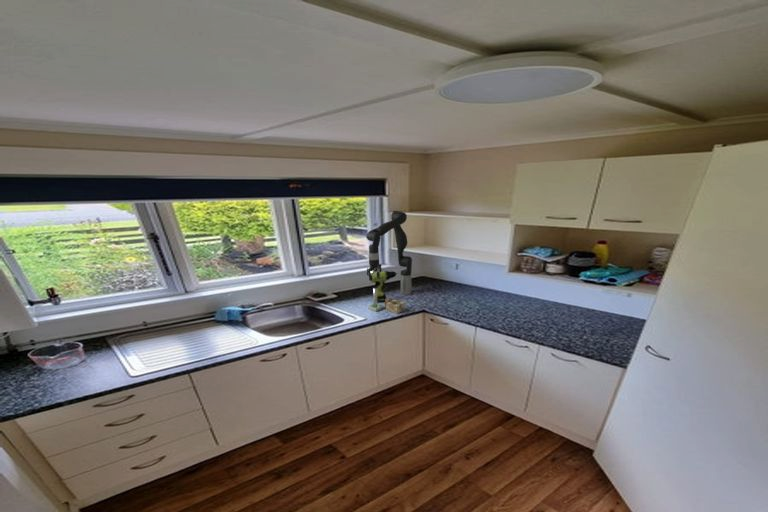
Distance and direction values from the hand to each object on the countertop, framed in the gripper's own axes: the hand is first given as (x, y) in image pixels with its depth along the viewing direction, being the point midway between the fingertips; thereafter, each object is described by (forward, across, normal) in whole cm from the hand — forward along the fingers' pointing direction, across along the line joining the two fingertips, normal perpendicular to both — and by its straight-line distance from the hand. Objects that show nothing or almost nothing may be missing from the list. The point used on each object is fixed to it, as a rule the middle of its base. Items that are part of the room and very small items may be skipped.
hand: (374, 279), depth 232 cm
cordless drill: (+24, +18, +5) cm, 31 cm away
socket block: (+24, +7, -14) cm, 29 cm away
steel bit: (+23, 0, 0) cm, 23 cm away
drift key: (+24, +7, -7) cm, 26 cm away
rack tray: (+24, 0, 0) cm, 24 cm away
